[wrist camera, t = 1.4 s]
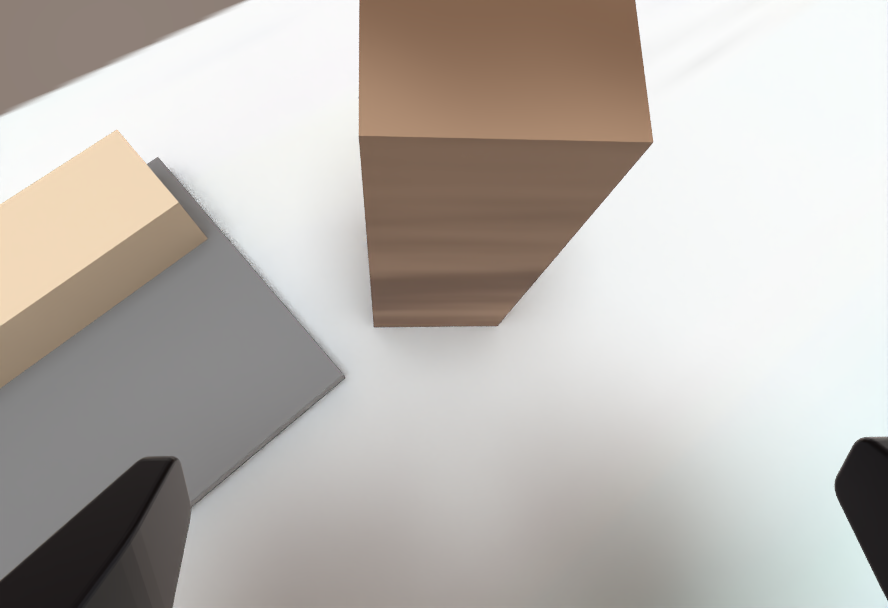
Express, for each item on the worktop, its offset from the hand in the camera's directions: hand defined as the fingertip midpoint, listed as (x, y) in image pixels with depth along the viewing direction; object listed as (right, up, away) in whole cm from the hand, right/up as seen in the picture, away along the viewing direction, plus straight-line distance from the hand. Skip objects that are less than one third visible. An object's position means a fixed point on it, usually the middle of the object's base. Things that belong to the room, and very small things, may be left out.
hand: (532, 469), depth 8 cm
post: (-2, +3, +14) cm, 15 cm away
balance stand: (-14, -2, +11) cm, 18 cm away
